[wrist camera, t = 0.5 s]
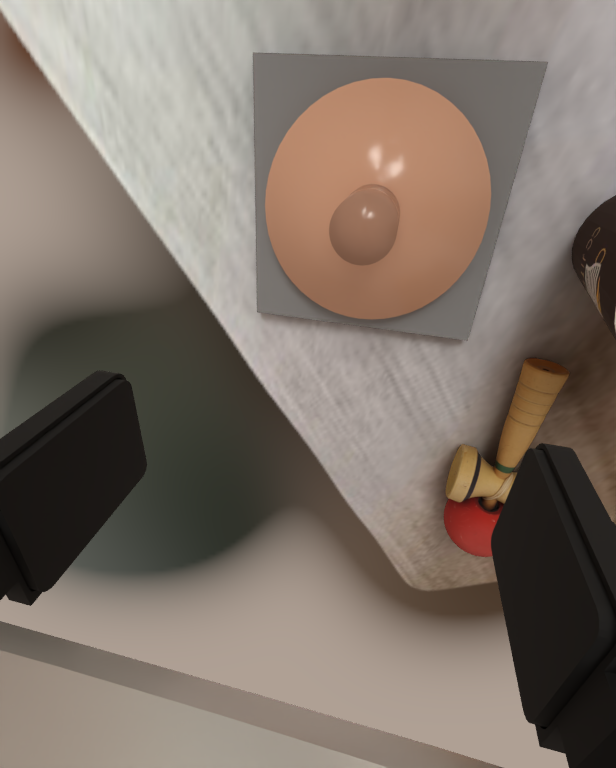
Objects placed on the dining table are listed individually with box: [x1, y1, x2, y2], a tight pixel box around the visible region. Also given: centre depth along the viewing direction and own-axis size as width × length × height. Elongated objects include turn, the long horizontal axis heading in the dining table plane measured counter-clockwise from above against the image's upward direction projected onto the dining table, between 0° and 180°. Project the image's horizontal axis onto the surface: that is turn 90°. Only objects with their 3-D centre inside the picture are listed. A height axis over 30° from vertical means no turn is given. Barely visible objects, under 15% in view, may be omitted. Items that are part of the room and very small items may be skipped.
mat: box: [253, 53, 548, 341], centre depth 27 cm, size 16×16×1 cm
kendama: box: [444, 358, 570, 557], centre depth 33 cm, size 8×6×18 cm
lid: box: [265, 78, 491, 319], centre depth 24 cm, size 14×14×6 cm
